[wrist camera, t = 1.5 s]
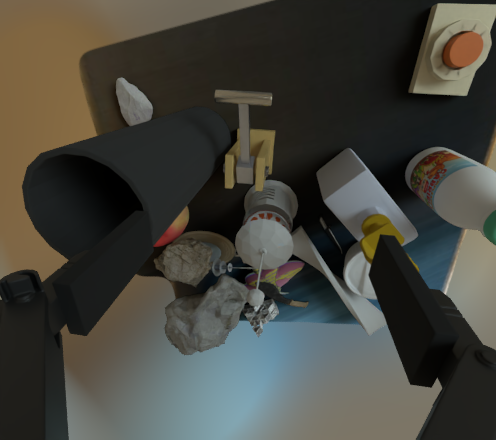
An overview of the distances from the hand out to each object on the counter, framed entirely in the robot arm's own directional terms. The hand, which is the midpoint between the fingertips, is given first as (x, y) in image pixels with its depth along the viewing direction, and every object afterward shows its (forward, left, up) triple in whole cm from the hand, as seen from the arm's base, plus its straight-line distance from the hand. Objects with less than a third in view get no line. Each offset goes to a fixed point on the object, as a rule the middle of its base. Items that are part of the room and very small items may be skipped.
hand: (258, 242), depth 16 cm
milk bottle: (+4, +24, -34) cm, 42 cm away
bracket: (+3, -4, -33) cm, 34 cm away
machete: (+28, +5, -30) cm, 41 cm away
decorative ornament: (+24, -3, -31) cm, 40 cm away
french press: (+13, -1, -33) cm, 36 cm away
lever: (-2, -4, -21) cm, 22 cm away
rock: (+24, -12, -21) cm, 34 cm away
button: (-12, +21, -30) cm, 39 cm away
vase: (+1, -13, -34) cm, 36 cm away
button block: (-12, +21, -33) cm, 41 cm away
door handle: (+24, +15, -29) cm, 41 cm away
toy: (+23, -7, -23) cm, 33 cm away
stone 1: (-4, -24, -34) cm, 42 cm away
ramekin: (+21, +19, -33) cm, 44 cm away
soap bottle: (+7, +13, -33) cm, 36 cm away
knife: (+17, +14, -33) cm, 40 cm away
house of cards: (+35, -1, -33) cm, 48 cm away
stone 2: (+33, -10, -30) cm, 46 cm away
